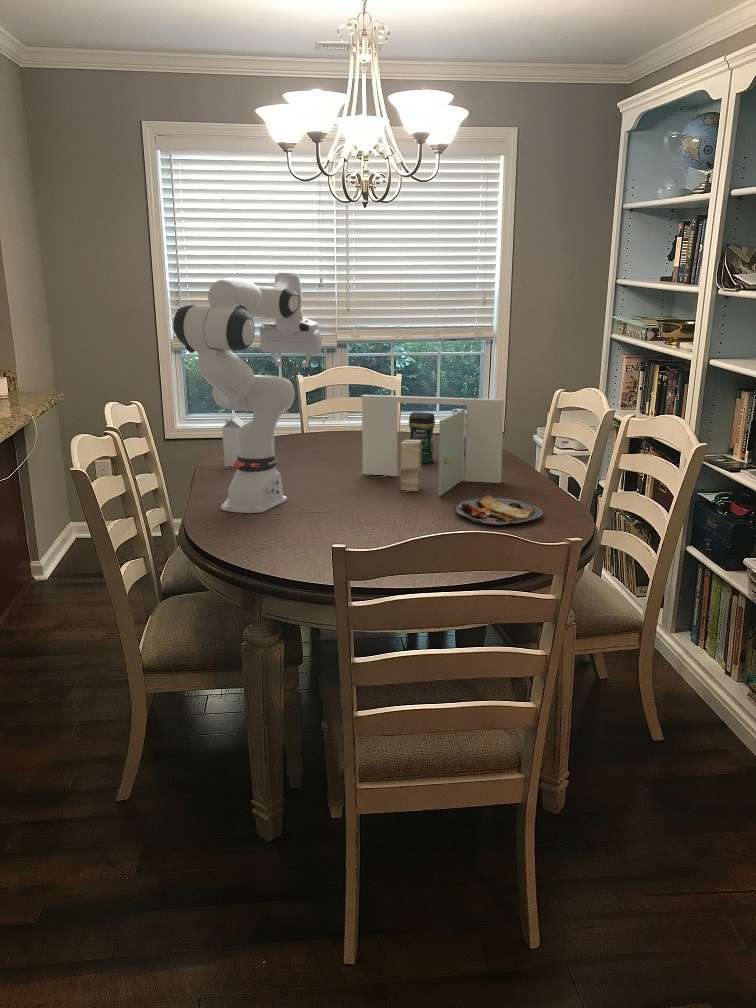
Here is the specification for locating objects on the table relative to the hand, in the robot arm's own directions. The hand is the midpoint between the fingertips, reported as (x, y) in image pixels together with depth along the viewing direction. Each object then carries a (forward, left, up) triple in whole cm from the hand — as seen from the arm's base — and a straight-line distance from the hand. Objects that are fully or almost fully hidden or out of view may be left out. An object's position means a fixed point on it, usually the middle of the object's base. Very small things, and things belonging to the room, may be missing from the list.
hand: (291, 366), depth 266 cm
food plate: (-25, -72, -39) cm, 85 cm away
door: (+1, -55, -38) cm, 67 cm away
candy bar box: (+57, -50, -39) cm, 85 cm away
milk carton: (+15, +28, -39) cm, 50 cm away
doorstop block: (-3, -41, -39) cm, 56 cm away
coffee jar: (+37, -37, -39) cm, 65 cm away
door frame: (+13, -45, -39) cm, 61 cm away
